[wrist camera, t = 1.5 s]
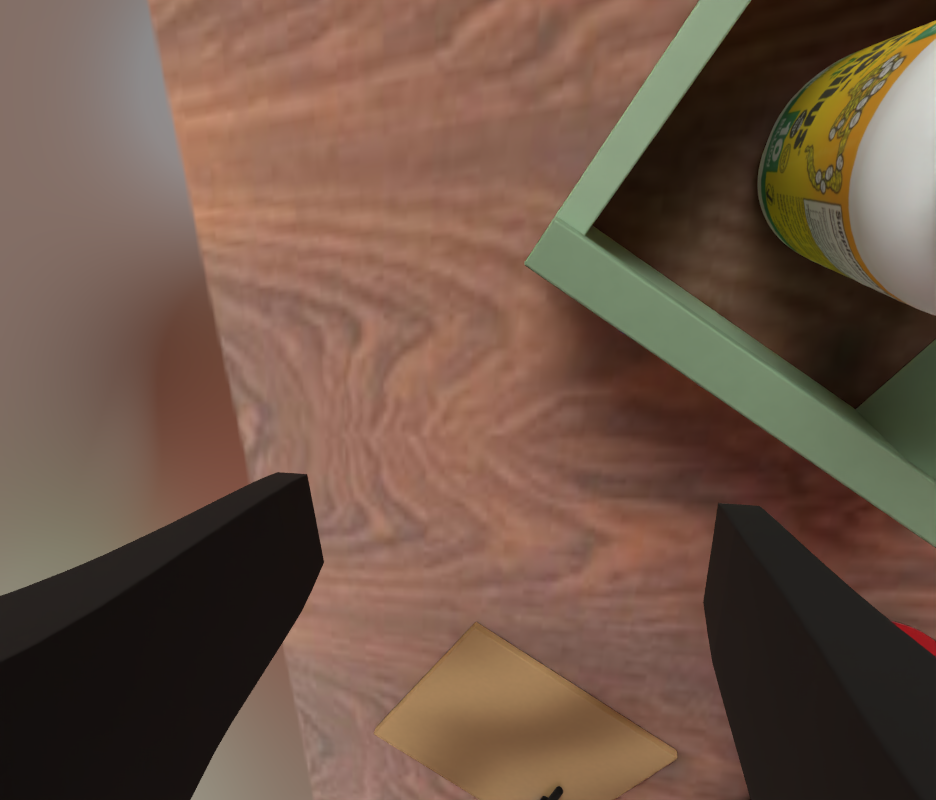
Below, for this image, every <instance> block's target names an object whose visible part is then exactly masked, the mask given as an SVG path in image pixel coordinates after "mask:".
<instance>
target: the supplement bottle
mask: <svg viewBox="0 0 936 800" xmlns="http://www.w3.org/2000/svg"><path fill="white" fill-rule="evenodd" d="M757 188H758V197H759V202H760V206H761V209H762V212H763V215H764V217H765V219H766V221H767V223H768V225H769V226H770V228H771V229H772V231H773V232H774V233H775V235H776V236H777V237H778V238H779V239H780V240H781V241H782V242H783V243H784V244H785V245H787V246H788V247H789V248H791V249H792V250H793V251H795V252H796V253H798V254H800V255H802V256H804V257H805V258H807V259H809V260H811V261H813V262H815V263H818V264H820V265H822V266H824V267H826V268H829V269H831V270H833V271H835V272H838V273H840V274H842V275H844V276H846V277H849V278H851V279H853V280H855V281H857V282H859V283H861V284H863V285H865V286H868V287H870V288H872V289H874V290H876V291H878V292H881V293H883V294H885V295H887V296H889V297H891V298H894V299H896V300H898V301H900V302H903V303H905V304H907V305H909V306H912V307H914V308H916V309H919V310H921V311H924V312H926V313H929V314H932V315H935V316H936V20H935V21H933V22H930V23H928V24H925V25H923V26H920V27H917V28H915V29H912V30H910V31H908V32H905V33H902V34H900V35H897V36H895V37H892V38H890V39H887V40H885V41H882V42H880V43H877V44H874V45H872V46H870V47H867V48H864V49H862V50H860V51H857V52H855V53H853V54H850V55H848V56H846V57H844V58H842V59H840V60H838V61H837V62H835V63H833V64H832V65H830V66H829V67H827V68H826V69H824V70H823V71H821V72H820V73H819V74H817V75H816V76H815V77H814V78H812V79H811V80H810V81H809V82H807V83H806V84H805V85H804V86H803V87H802V88H801V89H800V90H799V91H798V92H797V93H796V94H795V95H794V96H793V97H792V98H791V100H790V101H789V102H788V104H787V105H786V106H785V108H784V109H783V111H782V112H781V114H780V115H779V117H778V119H777V121H776V122H775V124H774V126H773V128H772V131H771V133H770V135H769V138H768V140H767V143H766V146H765V148H764V151H763V154H762V158H761V162H760V166H759V171H758V183H757Z"/></svg>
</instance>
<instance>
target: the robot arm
mask: <svg viewBox="0 0 936 800" xmlns="http://www.w3.org/2000/svg"><path fill="white" fill-rule="evenodd" d="M323 563H324V560H323V555H322V550H321V544H320V539H319V534H318V529H317V524H316V518H315V513H314V508H313V503H312V497H311V492H310V487H309V482H308V477H307V474H294V473H280V472H277V473H275V474H272V475H270V476H267V477H265V478H262V479H260V480H258V481H255V482H253V483H251V484H249V485H247V486H245V487H243V488H241V489H239V490H237V491H235V492H233V493H231V494H229V495H227V496H225V497H223V498H221V499H219V500H217V501H215V502H213V503H211V504H209V505H207V506H205V507H203V508H201V509H199V510H197V511H195V512H193V513H191V514H189V515H187V516H185V517H183V518H181V519H179V520H177V521H175V522H173V523H171V524H169V525H167V526H165V527H163V528H160V529H158V530H156V531H154V532H152V533H150V534H148V535H146V536H144V537H141V538H139V539H137V540H135V541H133V542H131V543H128V544H126V545H124V546H122V547H120V548H118V549H116V550H113V551H112V552H109V553H107V554H105V555H103V556H100V557H98V558H96V559H94V560H91V561H89V562H87V563H84V564H82V565H79V566H77V567H75V568H72V569H70V570H67V571H65V572H63V573H60V574H57V575H55V576H52V577H50V578H47V579H45V580H42V581H40V582H37V583H34V584H32V585H29V586H27V587H24V588H21V589H19V590H16V591H13V592H10V593H8V594H5V595H2V596H0V800H190V799H191V797H192V795H193V793H194V792H195V790H196V788H197V786H198V784H199V782H200V780H201V778H202V776H203V774H204V772H205V770H206V768H207V766H208V764H209V762H210V760H211V758H212V756H213V754H214V752H215V751H216V749H217V747H218V745H219V744H220V742H221V740H222V738H223V737H224V735H225V733H226V731H227V730H228V728H229V726H230V725H231V723H232V721H233V720H234V718H235V716H236V715H237V714H238V711H239V710H240V709H241V707H242V706H243V704H244V702H245V701H246V699H247V698H248V696H249V695H250V693H251V691H252V690H253V688H254V687H255V685H256V684H257V682H258V680H259V679H260V677H261V676H262V674H263V673H264V671H265V669H266V668H267V666H268V665H269V663H270V661H271V660H272V658H273V657H274V655H275V654H276V652H277V650H278V649H279V647H280V646H281V644H282V642H283V641H284V639H285V638H286V636H287V634H288V633H289V631H290V630H291V628H292V626H293V625H294V623H295V621H296V620H297V618H298V616H299V615H300V613H301V611H302V610H303V608H304V605H305V603H306V601H307V599H308V597H309V595H310V593H311V591H312V589H313V586H314V584H315V582H316V579H317V577H318V575H319V572H320V570H321V568H322V566H323ZM703 603H704V610H705V617H706V624H707V631H708V638H709V644H710V650H711V656H712V662H713V666H714V670H715V674H716V677H717V681H718V685H719V688H720V692H721V695H722V699H723V703H724V706H725V710H726V714H727V717H728V721H729V724H730V728H731V731H732V735H733V738H734V742H735V745H736V749H737V752H738V756H739V760H740V763H741V767H742V770H743V774H744V777H745V781H746V784H747V788H748V791H749V795H750V798H751V800H936V656H934V655H933V654H932V653H931V652H929V651H928V650H927V649H925V648H924V647H923V646H922V645H920V644H919V643H918V642H917V641H915V640H914V639H913V638H912V637H910V636H909V635H908V634H906V633H905V632H904V631H903V630H901V629H900V628H899V627H898V626H896V625H895V624H894V623H892V622H891V621H890V620H889V619H888V618H886V617H885V616H884V615H883V614H881V613H880V612H879V611H878V610H877V609H875V608H874V607H873V606H872V605H871V604H869V603H868V602H867V601H866V600H865V599H863V598H862V597H861V596H860V595H859V594H858V593H856V592H855V591H854V590H853V589H852V588H851V587H849V586H848V585H847V584H846V583H845V582H844V581H843V580H841V579H840V578H839V577H838V576H837V575H836V574H835V573H833V572H832V571H831V570H830V569H829V568H828V567H827V566H826V565H825V564H823V563H822V562H821V561H820V560H819V559H818V558H817V557H816V556H815V555H813V554H812V553H811V552H810V551H809V550H808V549H807V548H806V547H805V546H804V545H802V544H801V543H800V542H799V541H798V540H797V539H796V538H795V537H794V536H793V535H792V534H790V533H789V532H788V531H787V530H786V529H785V528H784V527H783V526H782V525H781V524H780V523H779V522H777V521H776V520H775V519H774V518H773V517H772V516H771V515H770V514H769V513H767V512H766V511H765V510H764V509H763V508H762V507H760V506H752V505H737V504H723V503H718V509H717V516H716V522H715V529H714V535H713V542H712V549H711V555H710V562H709V568H708V575H707V582H706V588H705V595H704V602H703Z"/></svg>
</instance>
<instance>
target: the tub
mask: <svg viewBox="0 0 936 800" xmlns="http://www.w3.org/2000/svg"><path fill="white" fill-rule="evenodd" d="M750 2H751V0H699V1H698V3H697V4H696V6H695V7H694V9H693V10H692V12H691V13H690V15H689V16H688V18H687V19H686V21H685V22H684V24H683V25H682V27H681V28H680V30H679V31H678V33H677V34H676V36H675V37H674V39H673V40H672V42H671V43H670V45H669V46H668V48H667V49H666V51H665V52H664V54H663V55H662V57H661V58H660V60H659V61H658V63H657V64H656V66H655V67H654V69H653V70H652V72H651V73H650V75H649V76H648V78H647V79H646V81H645V82H644V84H643V85H642V87H641V88H640V90H639V91H638V93H637V94H636V96H635V97H634V99H633V100H632V102H631V103H630V105H629V106H628V108H627V109H626V111H625V112H624V114H623V115H622V117H621V118H620V120H619V121H618V123H617V124H616V126H615V127H614V129H613V130H612V132H611V133H610V135H609V136H608V138H607V139H606V141H605V142H604V144H603V145H602V147H601V148H600V150H599V151H598V153H597V154H596V156H595V157H594V159H593V160H592V162H591V163H590V165H589V166H588V168H587V169H586V171H585V172H584V174H583V175H582V177H581V178H580V180H579V181H578V183H577V184H576V186H575V187H574V189H573V190H572V192H571V193H570V195H569V196H568V198H567V199H566V201H565V202H564V204H563V205H562V206H561V208H560V209H559V211H558V212H557V214H556V215H555V217H554V218H553V220H552V221H551V223H550V224H549V226H548V227H547V229H546V231H545V232H544V234H543V235H542V237H541V238H540V240H539V241H538V243H537V244H536V246H535V247H534V249H533V250H532V252H531V253H530V255H529V256H528V258H527V259H526V261H525V266H527V267H528V268H529V269H531V270H532V271H534V272H535V273H537V274H538V275H540V276H541V277H543V278H544V279H545V280H547V281H548V282H550V283H551V284H553V285H554V286H556V287H557V288H559V289H560V290H561V291H563V292H564V293H566V294H567V295H569V296H570V297H572V298H573V299H575V300H576V301H577V302H579V303H580V304H582V305H583V306H585V307H586V308H588V309H589V310H590V311H592V312H593V313H595V314H596V315H598V316H599V317H601V318H602V319H604V320H605V321H606V322H608V323H609V324H611V325H612V326H614V327H615V328H617V329H618V330H620V331H621V332H622V333H624V334H625V335H627V336H628V337H630V338H631V339H633V340H634V341H636V342H637V343H638V344H640V345H641V346H643V347H644V348H646V349H647V350H649V351H650V352H652V353H653V354H654V355H656V356H657V357H659V358H660V359H662V360H663V361H665V362H666V363H668V364H669V365H670V366H672V367H673V368H675V369H676V370H678V371H679V372H681V373H682V374H684V375H685V376H686V377H688V378H689V379H691V380H692V381H694V382H695V383H697V384H698V385H700V386H701V387H702V388H704V389H705V390H707V391H708V392H710V393H711V394H713V395H714V396H716V397H717V398H718V399H720V400H721V401H723V402H724V403H726V404H727V405H729V406H730V407H732V408H733V409H734V410H736V411H737V412H739V413H740V414H742V415H743V416H745V417H746V418H748V419H749V420H750V421H752V422H753V423H755V424H756V425H758V426H759V427H761V428H762V429H764V430H765V431H766V432H768V433H769V434H771V435H772V436H774V437H775V438H777V439H778V440H780V441H781V442H782V443H784V444H785V445H787V446H788V447H790V448H791V449H793V450H794V451H796V452H797V453H798V454H800V455H801V456H803V457H804V458H806V459H807V460H809V461H810V462H812V463H813V464H814V465H816V466H817V467H819V468H820V469H822V470H823V471H825V472H826V473H828V474H829V475H830V476H832V477H833V478H835V479H836V480H838V481H839V482H841V483H842V484H844V485H845V486H846V487H848V488H849V489H851V490H852V491H854V492H855V493H857V494H858V495H859V496H861V497H862V498H864V499H865V500H867V501H868V502H870V503H871V504H873V505H874V506H875V507H877V508H878V509H880V510H881V511H883V512H884V513H886V514H887V515H889V516H890V517H891V518H893V519H894V520H896V521H897V522H899V523H900V524H902V525H903V526H905V527H906V528H907V529H909V530H910V531H912V532H913V533H915V534H916V535H918V536H919V537H921V538H922V539H923V540H925V541H926V542H928V543H929V544H931V545H932V546H934V547H935V548H936V339H935V340H934V341H933V342H932V343H931V344H930V345H928V346H927V347H926V348H925V349H924V350H923V351H922V352H920V353H919V354H918V355H917V356H916V357H915V358H914V359H912V360H911V361H910V362H909V363H908V364H907V365H906V366H904V367H903V368H902V369H901V370H900V371H899V372H898V373H896V374H895V375H894V376H893V377H892V378H891V379H890V380H888V381H887V382H886V383H885V384H884V385H883V386H882V387H880V388H879V389H878V390H877V391H876V392H875V393H874V394H872V395H871V396H870V397H869V398H868V399H867V400H866V401H864V402H863V403H862V404H861V405H860V406H859V407H858V408H856V409H854V408H853V407H852V406H850V405H849V404H847V403H846V402H844V401H843V400H842V399H840V398H839V397H837V396H836V395H834V394H833V393H832V392H830V391H829V390H827V389H826V388H824V387H823V386H822V385H820V384H819V383H817V382H816V381H814V380H813V379H811V378H810V377H809V376H807V375H806V374H804V373H803V372H801V371H800V370H799V369H797V368H796V367H794V366H793V365H791V364H790V363H789V362H787V361H786V360H784V359H783V358H781V357H780V356H779V355H777V354H776V353H774V352H773V351H771V350H770V349H769V348H767V347H766V346H764V345H763V344H761V343H760V342H758V341H757V340H756V339H754V338H753V337H751V336H750V335H748V334H747V333H746V332H744V331H743V330H741V329H740V328H738V327H737V326H736V325H734V324H733V323H731V322H730V321H728V320H727V319H726V318H724V317H723V316H721V315H720V314H718V313H717V312H716V311H714V310H713V309H711V308H710V307H708V306H707V305H705V304H704V303H703V302H701V301H700V300H698V299H697V298H695V297H694V296H693V295H691V294H690V293H688V292H687V291H685V290H684V289H683V288H681V287H680V286H678V285H677V284H675V283H674V282H673V281H671V280H670V279H668V278H667V277H665V276H664V275H663V274H661V273H660V272H658V271H657V270H655V269H654V268H652V267H651V266H650V265H648V264H647V263H645V262H644V261H642V260H641V259H640V258H638V257H637V256H635V255H634V254H632V253H631V252H630V251H628V250H627V249H625V248H624V247H622V246H621V245H620V244H618V243H617V242H615V241H614V240H612V239H611V238H610V237H608V236H607V235H605V234H604V233H602V232H601V231H599V230H598V229H597V228H595V227H594V226H592V225H593V224H594V222H595V221H596V219H597V218H598V216H599V215H600V214H601V212H602V211H603V209H604V208H605V207H606V205H607V204H608V202H609V201H610V199H611V198H612V197H613V195H614V194H615V192H616V191H617V190H618V188H619V187H620V185H621V184H622V183H623V181H624V180H625V178H626V177H627V175H628V174H629V173H630V171H631V170H632V168H633V167H634V166H635V164H636V163H637V161H638V160H639V159H640V157H641V156H642V154H643V153H644V151H645V150H646V149H647V147H648V146H649V144H650V143H651V142H652V140H653V139H654V137H655V136H656V134H657V133H658V132H659V130H660V129H661V127H662V126H663V125H664V123H665V122H666V120H667V119H668V118H669V116H670V115H671V113H672V112H673V110H674V109H675V108H676V106H677V105H678V103H679V102H680V101H681V99H682V98H683V96H684V95H685V94H686V92H687V91H688V89H689V88H690V86H691V85H692V84H693V82H694V81H695V79H696V78H697V77H698V75H699V74H700V72H701V71H702V69H703V68H704V67H705V65H706V64H707V62H708V61H709V60H710V58H711V57H712V55H713V54H714V53H715V51H716V50H717V48H718V47H719V45H720V44H721V43H722V41H723V40H724V38H725V37H726V36H727V34H728V33H729V31H730V30H731V29H732V27H733V26H734V24H735V23H736V21H737V20H738V19H739V17H740V16H741V14H742V13H743V12H744V10H745V9H746V7H747V6H748V4H749V3H750Z"/></svg>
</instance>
